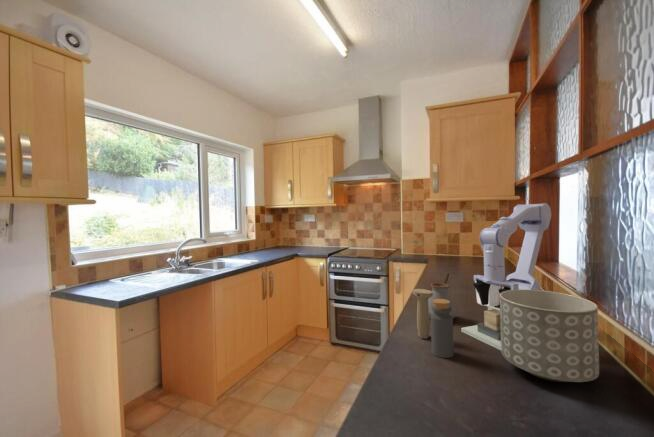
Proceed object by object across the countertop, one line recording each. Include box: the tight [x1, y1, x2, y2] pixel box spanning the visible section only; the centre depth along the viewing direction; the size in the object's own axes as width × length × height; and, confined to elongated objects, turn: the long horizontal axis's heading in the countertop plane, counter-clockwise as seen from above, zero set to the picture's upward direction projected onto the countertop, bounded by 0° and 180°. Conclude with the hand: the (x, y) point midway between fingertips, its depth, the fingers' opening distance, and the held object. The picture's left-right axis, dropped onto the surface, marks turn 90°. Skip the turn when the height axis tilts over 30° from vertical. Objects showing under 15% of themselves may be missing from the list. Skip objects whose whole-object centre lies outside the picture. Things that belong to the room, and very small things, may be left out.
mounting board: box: [460, 306, 501, 351], centre depth 91 cm, size 13×16×7 cm
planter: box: [499, 289, 600, 383], centre depth 70 cm, size 19×19×18 cm
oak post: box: [483, 309, 501, 331], centre depth 91 cm, size 4×4×7 cm
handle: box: [411, 288, 433, 340], centre depth 92 cm, size 5×6×15 cm
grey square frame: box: [476, 322, 501, 341], centre depth 91 cm, size 9×8×2 cm
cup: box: [474, 281, 502, 307], centre depth 125 cm, size 10×10×10 cm
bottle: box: [430, 299, 455, 359], centre depth 81 cm, size 6×6×15 cm
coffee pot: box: [428, 272, 457, 320], centre depth 113 cm, size 21×12×15 cm, turn 144°
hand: (495, 307), depth 91 cm, fingers open, 7 cm apart
